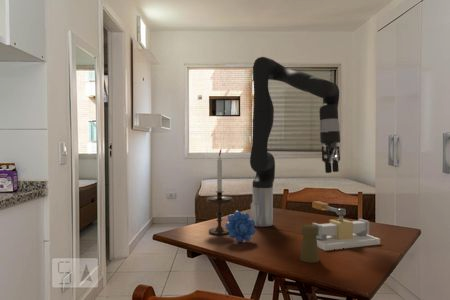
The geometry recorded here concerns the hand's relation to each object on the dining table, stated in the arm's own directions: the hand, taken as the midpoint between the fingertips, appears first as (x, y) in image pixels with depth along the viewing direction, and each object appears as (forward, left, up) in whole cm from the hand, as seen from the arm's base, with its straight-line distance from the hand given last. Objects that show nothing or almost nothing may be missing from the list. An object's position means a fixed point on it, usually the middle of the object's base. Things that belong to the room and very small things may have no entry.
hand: (332, 172), depth 137 cm
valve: (0, -6, -26) cm, 27 cm away
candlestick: (-39, +22, -26) cm, 52 cm away
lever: (0, +2, -16) cm, 16 cm away
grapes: (-36, +5, -26) cm, 45 cm away
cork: (-22, -19, -26) cm, 39 cm away
